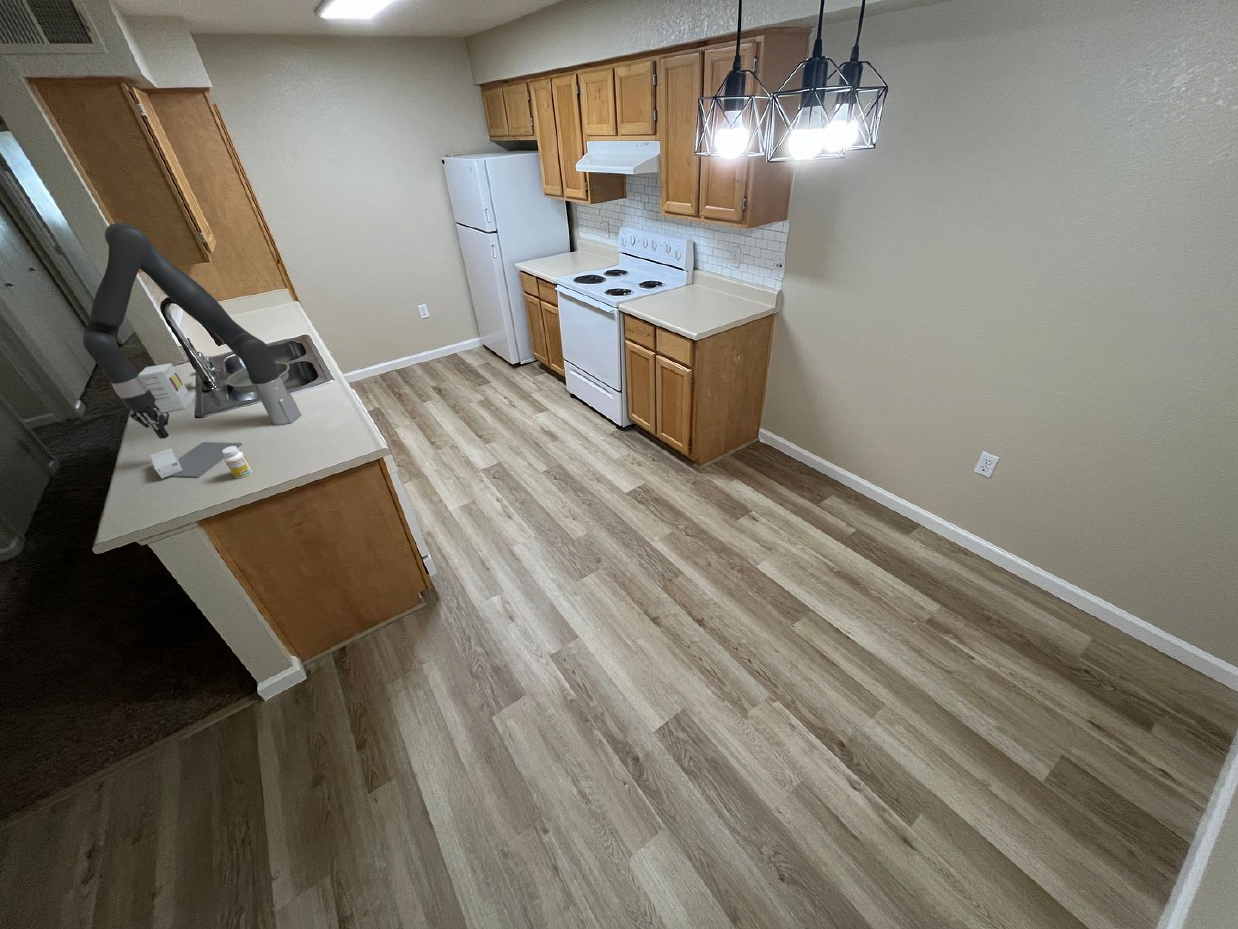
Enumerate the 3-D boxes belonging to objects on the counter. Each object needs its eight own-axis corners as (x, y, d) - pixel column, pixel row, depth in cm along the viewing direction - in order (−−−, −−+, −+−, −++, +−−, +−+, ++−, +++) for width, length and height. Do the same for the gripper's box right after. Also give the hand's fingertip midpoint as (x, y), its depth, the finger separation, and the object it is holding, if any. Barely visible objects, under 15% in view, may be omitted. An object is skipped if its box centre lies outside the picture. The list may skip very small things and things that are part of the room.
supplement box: (186, 409, 209) (162, 371, 200) (160, 413, 207) (135, 376, 197) (193, 399, 217) (171, 362, 207) (168, 403, 215) (145, 366, 205)
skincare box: (156, 464, 174) (161, 480, 167) (149, 454, 171) (153, 469, 164) (178, 457, 177) (183, 472, 170) (170, 446, 174) (176, 461, 167)
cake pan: (294, 384, 223) (289, 375, 221) (229, 400, 214) (224, 390, 211) (292, 365, 241) (288, 357, 238) (232, 379, 232) (227, 370, 229)
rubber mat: (242, 444, 183) (241, 443, 183) (198, 477, 167) (197, 476, 167) (203, 443, 185) (202, 442, 185) (156, 476, 169) (155, 474, 169)
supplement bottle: (239, 469, 170) (225, 445, 164) (256, 468, 170) (242, 443, 164) (231, 479, 165) (215, 454, 159) (248, 477, 165) (233, 453, 160)
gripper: (104, 397, 160) (138, 443, 170) (140, 397, 158) (172, 443, 168) (126, 386, 166) (157, 431, 176) (161, 386, 164) (190, 431, 174)
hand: (164, 437), depth 172 cm, fingers closed
